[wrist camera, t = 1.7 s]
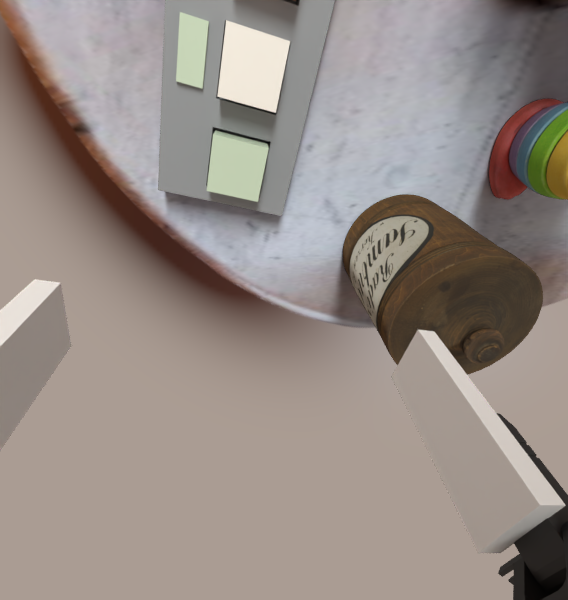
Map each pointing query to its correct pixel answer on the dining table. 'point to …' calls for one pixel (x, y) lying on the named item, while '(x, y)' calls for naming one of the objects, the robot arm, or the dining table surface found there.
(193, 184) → the console
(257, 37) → the off-white key
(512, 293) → the wooden container
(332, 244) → the dining table surface
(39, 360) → the robot arm
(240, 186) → the sage green key
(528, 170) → the stacking bear
